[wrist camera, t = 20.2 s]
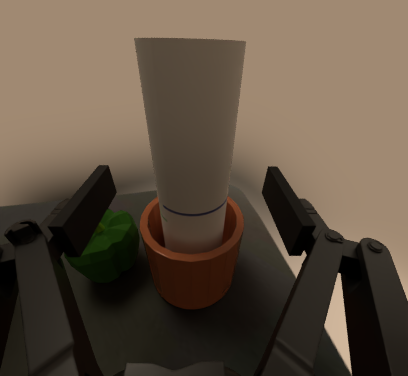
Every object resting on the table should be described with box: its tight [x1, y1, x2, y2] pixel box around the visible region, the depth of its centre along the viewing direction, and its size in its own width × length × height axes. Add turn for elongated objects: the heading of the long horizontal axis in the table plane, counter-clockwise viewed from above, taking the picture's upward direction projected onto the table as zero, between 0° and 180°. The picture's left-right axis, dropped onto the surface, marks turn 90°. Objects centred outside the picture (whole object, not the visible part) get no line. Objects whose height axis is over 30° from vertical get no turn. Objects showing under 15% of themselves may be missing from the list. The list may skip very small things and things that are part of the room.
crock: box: [140, 196, 244, 309], centre depth 25 cm, size 12×12×10 cm
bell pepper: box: [64, 209, 139, 283], centre depth 25 cm, size 8×8×10 cm
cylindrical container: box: [134, 38, 246, 254], centre depth 20 cm, size 7×7×25 cm
